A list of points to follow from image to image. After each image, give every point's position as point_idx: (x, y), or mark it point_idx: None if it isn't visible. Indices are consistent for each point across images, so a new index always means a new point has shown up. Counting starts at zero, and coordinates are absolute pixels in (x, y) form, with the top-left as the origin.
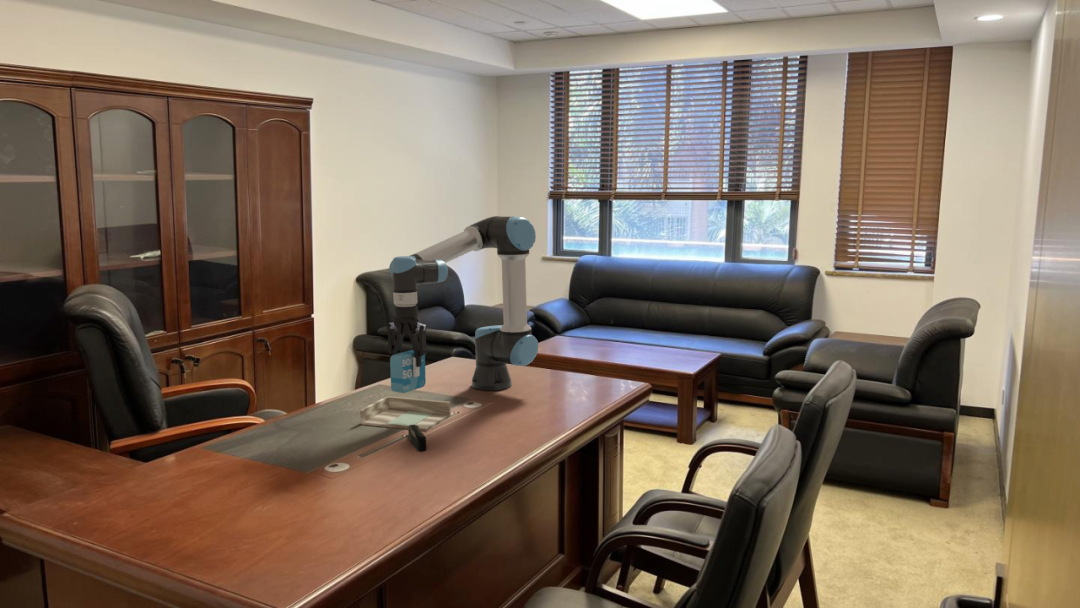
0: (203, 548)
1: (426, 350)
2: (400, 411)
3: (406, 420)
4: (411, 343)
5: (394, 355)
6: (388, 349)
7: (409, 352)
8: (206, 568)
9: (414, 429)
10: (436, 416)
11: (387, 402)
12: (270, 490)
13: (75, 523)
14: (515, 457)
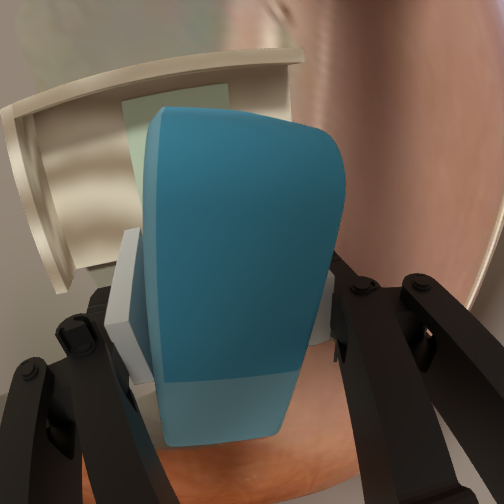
0: (264, 497)
1: (447, 294)
2: (91, 114)
3: None
4: (358, 459)
5: (190, 444)
6: (53, 439)
7: (235, 332)
8: (287, 496)
9: (330, 333)
10: (257, 102)
11: (23, 124)
12: (223, 470)
13: None
14: (477, 263)
